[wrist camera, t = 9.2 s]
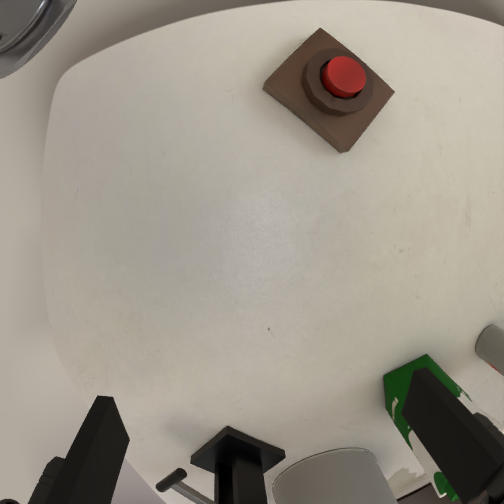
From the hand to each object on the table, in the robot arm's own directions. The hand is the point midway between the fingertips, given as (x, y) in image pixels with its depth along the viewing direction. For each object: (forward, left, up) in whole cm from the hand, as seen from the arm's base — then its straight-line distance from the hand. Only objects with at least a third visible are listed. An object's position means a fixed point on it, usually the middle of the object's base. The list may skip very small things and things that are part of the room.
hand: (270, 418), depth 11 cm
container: (+34, -21, -20) cm, 44 cm away
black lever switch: (+16, -22, -20) cm, 33 cm away
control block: (-5, +20, -19) cm, 29 cm away
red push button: (-5, +20, -16) cm, 26 cm away
